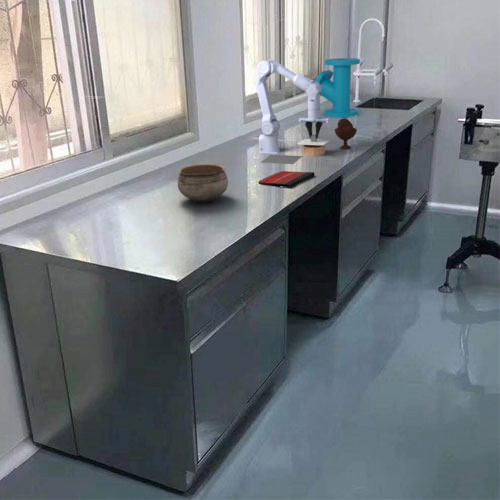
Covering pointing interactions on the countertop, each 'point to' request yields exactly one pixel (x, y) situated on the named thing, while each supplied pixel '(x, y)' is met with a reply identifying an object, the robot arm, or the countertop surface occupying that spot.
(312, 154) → the dish
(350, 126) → the ice cream bowl
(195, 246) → the countertop surface
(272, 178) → the binder
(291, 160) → the mat
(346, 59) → the pipe fitting
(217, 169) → the cooking pot
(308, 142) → the cover sheet
